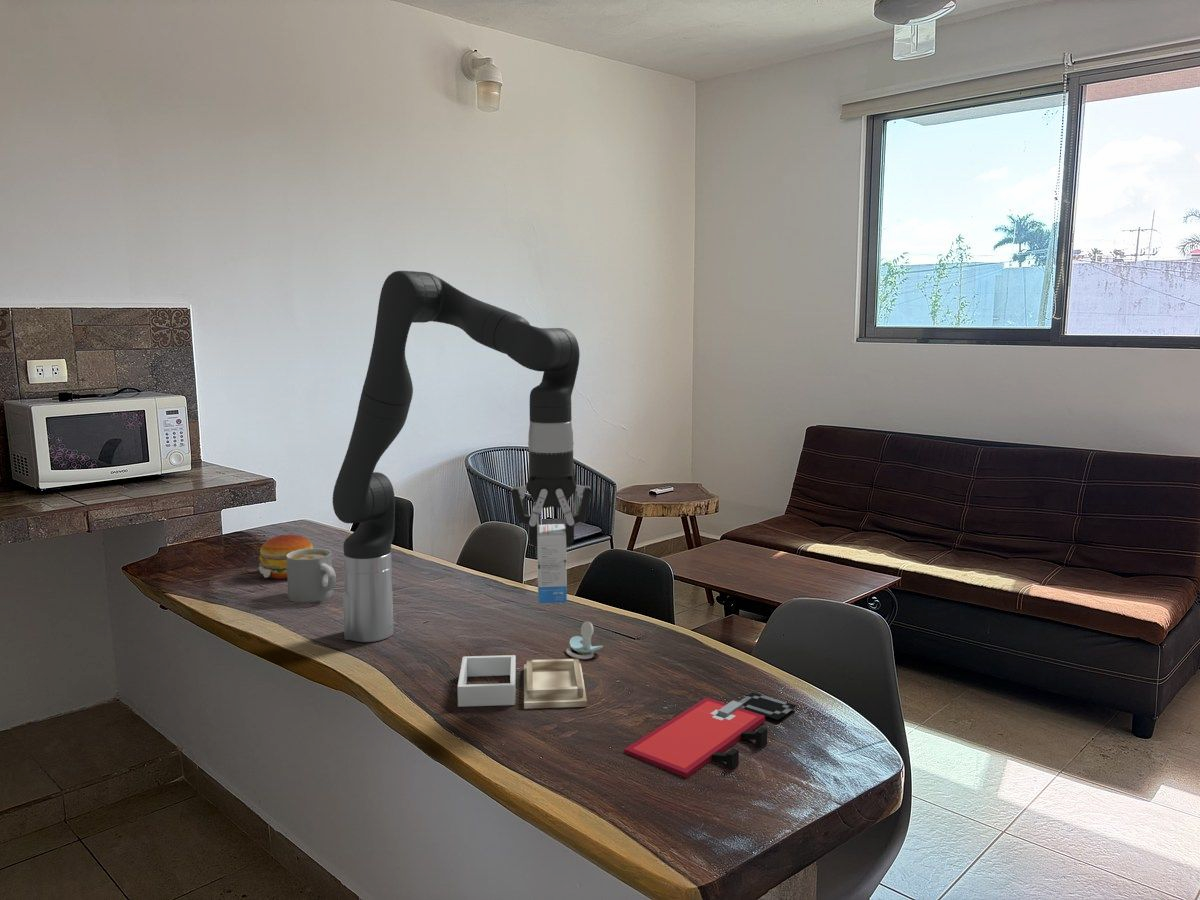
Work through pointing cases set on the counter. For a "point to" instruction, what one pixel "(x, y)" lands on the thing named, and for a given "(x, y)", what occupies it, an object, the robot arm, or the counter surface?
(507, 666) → the box
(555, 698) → the tray
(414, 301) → the robot arm
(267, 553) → the burger
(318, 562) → the coffee mug
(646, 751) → the red board with handle
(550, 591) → the ink box
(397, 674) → the counter surface
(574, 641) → the pacifier
